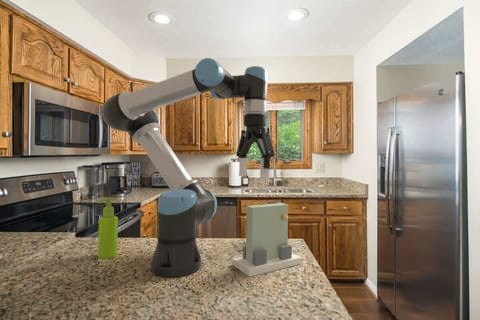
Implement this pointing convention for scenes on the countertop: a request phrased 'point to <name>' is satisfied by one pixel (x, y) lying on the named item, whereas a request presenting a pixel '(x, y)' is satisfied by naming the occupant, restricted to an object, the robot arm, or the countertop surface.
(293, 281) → the countertop surface
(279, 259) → the cabinet base
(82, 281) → the countertop surface
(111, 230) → the soap dispenser
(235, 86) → the robot arm
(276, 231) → the door
